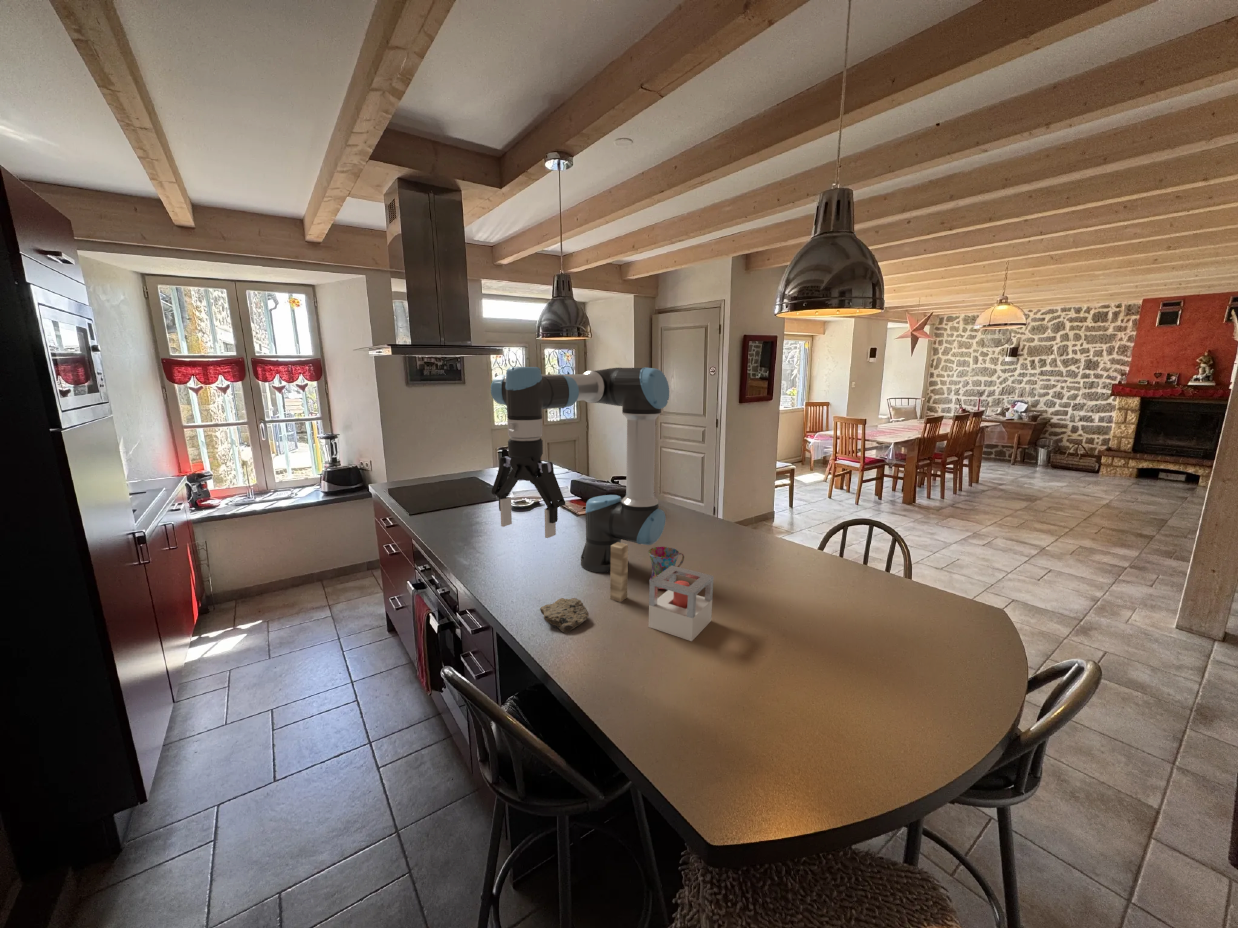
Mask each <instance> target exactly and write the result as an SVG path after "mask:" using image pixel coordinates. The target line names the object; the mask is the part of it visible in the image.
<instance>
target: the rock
mask: <svg viewBox="0 0 1238 928" xmlns="http://www.w3.org/2000/svg"><path fill="white" fill-rule="evenodd" d="M539 611H540V613H541V615H543V619H544V620H545V621H546V622H548V623H549V624H551V625H553V626H556V627H557V628H558V629H559V630H560V631H561V632H563V633H565V634H567V633H570V632H571V631H572V630H573V629H575V628H576V627H578V626H580V625H581V624H583V623H584V621H587V620H588V619H589V617H590V616H589V611H588V609H587V607H586V606H585V605H584V603H583V602H582V601H581V599H578V598H577V597H573V598H572V597H571V598H564V597H561V598H558V599H557V600H556V601H555V602H553V603H549V604H545V605H543V606H541V607H540V608H539Z"/></svg>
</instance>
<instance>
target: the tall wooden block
mask: <svg viewBox="0 0 1238 928" xmlns="http://www.w3.org/2000/svg"><path fill="white" fill-rule="evenodd" d="M628 562H629V544H627V543H624V542H621V543H619V542H617V543H615V544H613V545H611V568H610V572H609V574H610V575H609V576H610V577H609V579H610V584H609V585H610V589H609V590H610V591H609V593H610V594H609V596H610V598H609V599H610V600H612V601H616V602H618V603H621V602H623V601H624V600H625V599H627V598H628V573H629V572H628V571H629V570H628V566H629V564H628Z"/></svg>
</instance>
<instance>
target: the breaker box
mask: <svg viewBox="0 0 1238 928" xmlns="http://www.w3.org/2000/svg"><path fill="white" fill-rule="evenodd" d="M673 596H674V591H670V590H666V591H665V592H664V593H663V594H661V595H660V596H659V597H657V605H656V606H650V605H649V604H648V628H650V629H653V630H656V631H660V632H662V633H666V634H668V635H672V636H675V637H678V638H681V639H682V640H687V641H690V642H693V641H694V640H695V638H697V636H699V634H701V632H702V631H703V630H704V629H705V628H706V627H707V626H708V625H709V624H710V623H711V621H712V615H713V614H712V612H713V599H712V600H711V601H706V600H705V596H702V595H698V594H697V595H696V612H695V617H694V618H689V617H687V608H686V609H685V608H682V607H678V606H675V605H673Z"/></svg>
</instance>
